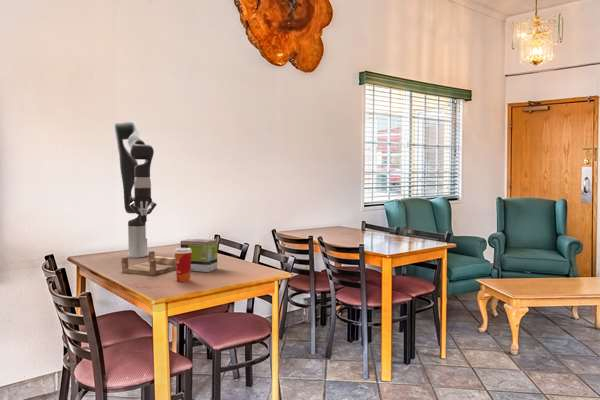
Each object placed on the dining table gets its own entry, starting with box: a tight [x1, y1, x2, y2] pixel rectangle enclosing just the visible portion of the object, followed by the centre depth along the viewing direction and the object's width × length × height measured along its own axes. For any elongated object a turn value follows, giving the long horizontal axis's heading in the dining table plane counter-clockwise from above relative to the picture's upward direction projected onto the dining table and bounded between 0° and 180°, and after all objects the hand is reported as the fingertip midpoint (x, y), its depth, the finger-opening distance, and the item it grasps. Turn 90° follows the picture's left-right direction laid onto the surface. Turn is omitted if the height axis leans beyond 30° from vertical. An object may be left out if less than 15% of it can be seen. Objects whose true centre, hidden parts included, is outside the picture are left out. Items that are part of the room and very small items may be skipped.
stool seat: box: [121, 250, 176, 277], centre depth 233 cm, size 20×19×7 cm
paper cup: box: [173, 247, 192, 283], centre depth 211 cm, size 8×8×14 cm
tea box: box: [180, 237, 218, 273], centre depth 234 cm, size 15×10×15 cm
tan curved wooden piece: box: [151, 254, 176, 265], centre depth 238 cm, size 15×2×4 cm, turn 67°
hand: (143, 223), depth 230 cm, fingers closed
